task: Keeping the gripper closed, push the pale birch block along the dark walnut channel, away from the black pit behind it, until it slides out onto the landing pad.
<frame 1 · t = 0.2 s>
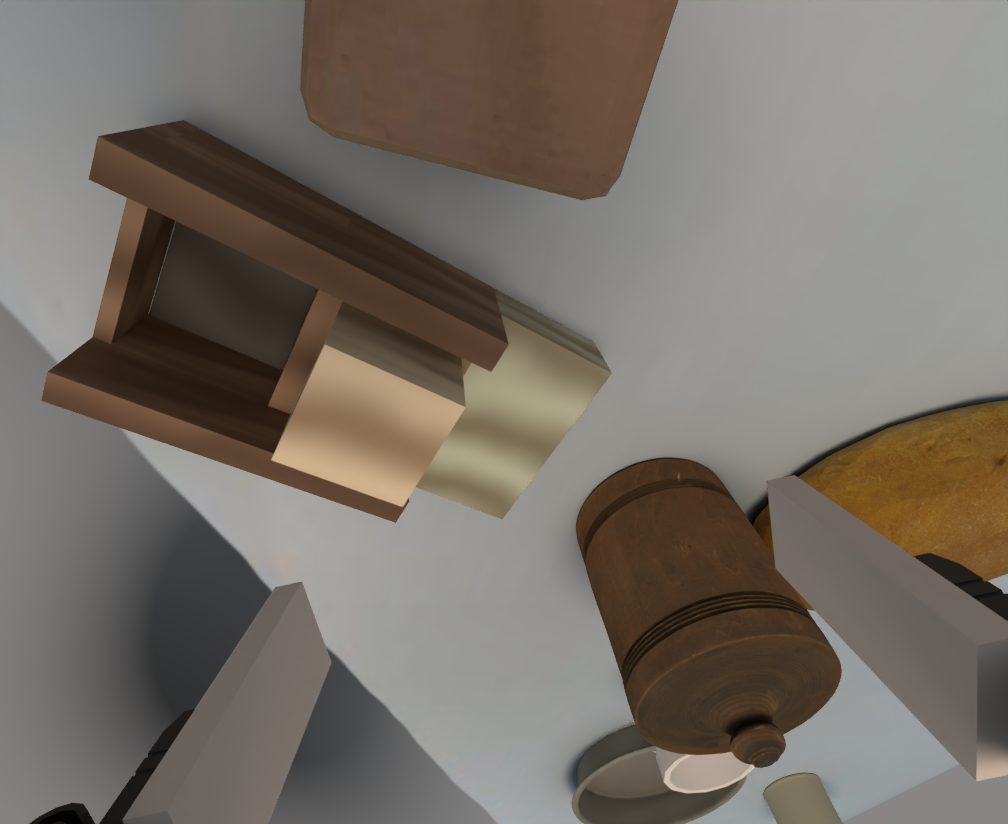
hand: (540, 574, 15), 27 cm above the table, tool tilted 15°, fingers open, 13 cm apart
cake pan: (649, 756, 79), on the table
wooden block: (467, 26, 31), on the table
can: (790, 785, 88), on the table
wooden container: (650, 516, 53), on the table
foam cup: (663, 649, 65), on the table
bread: (903, 481, 54), on the table
chute: (372, 337, 40), on the table
birch block: (378, 374, 36), point 5 cm above the table, touching chute
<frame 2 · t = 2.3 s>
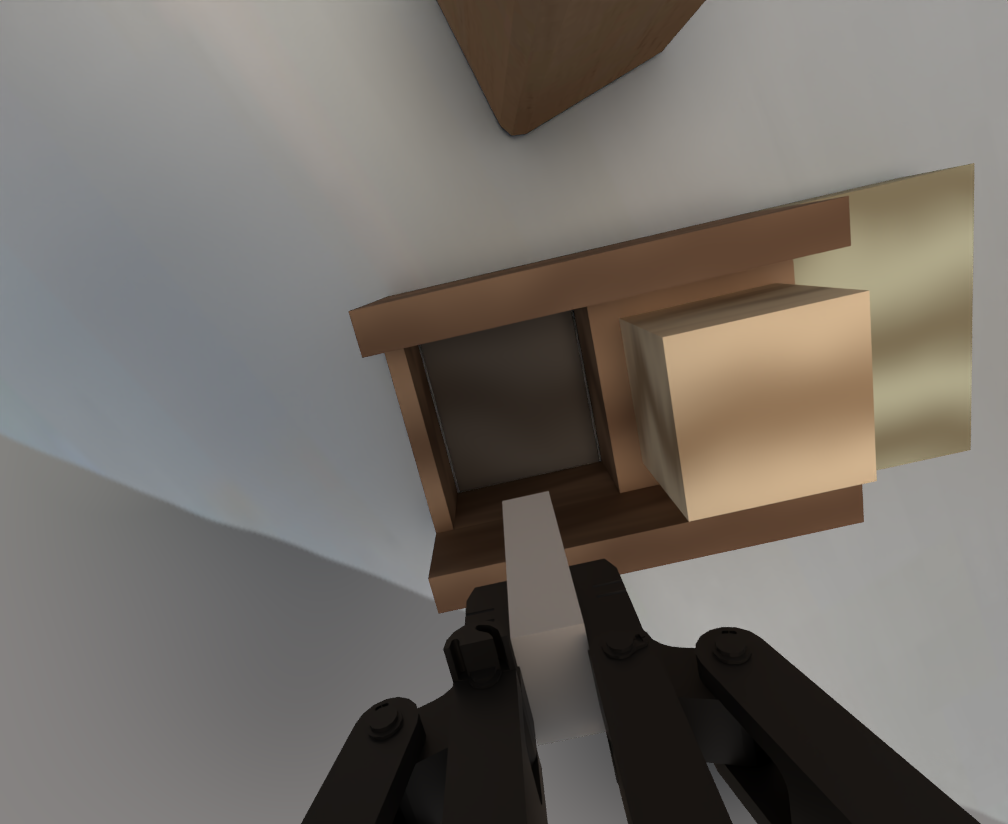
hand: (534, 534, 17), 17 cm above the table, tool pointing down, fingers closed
wooden block: (545, 5, 28), on the table
chute: (658, 363, 33), on the table
birch block: (706, 376, 29), point 5 cm above the table, touching chute
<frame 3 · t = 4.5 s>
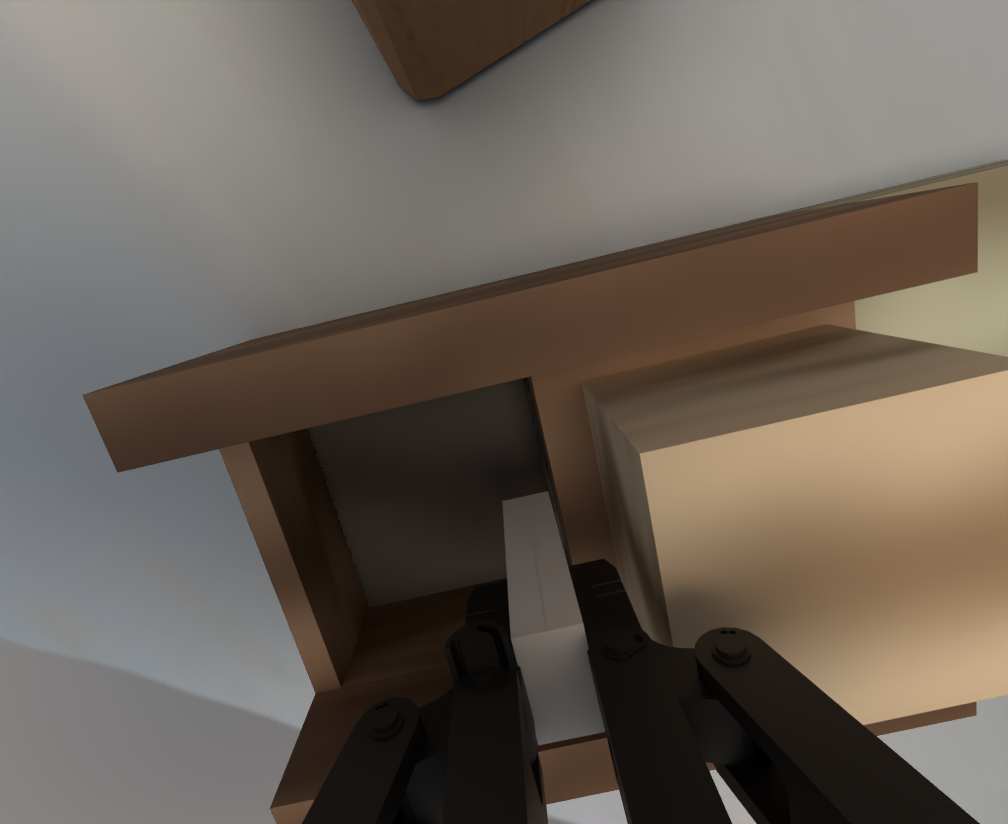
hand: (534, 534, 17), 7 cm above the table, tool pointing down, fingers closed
chute: (646, 429, 23), on the table
birch block: (718, 465, 19), point 5 cm above the table, touching chute, gripper
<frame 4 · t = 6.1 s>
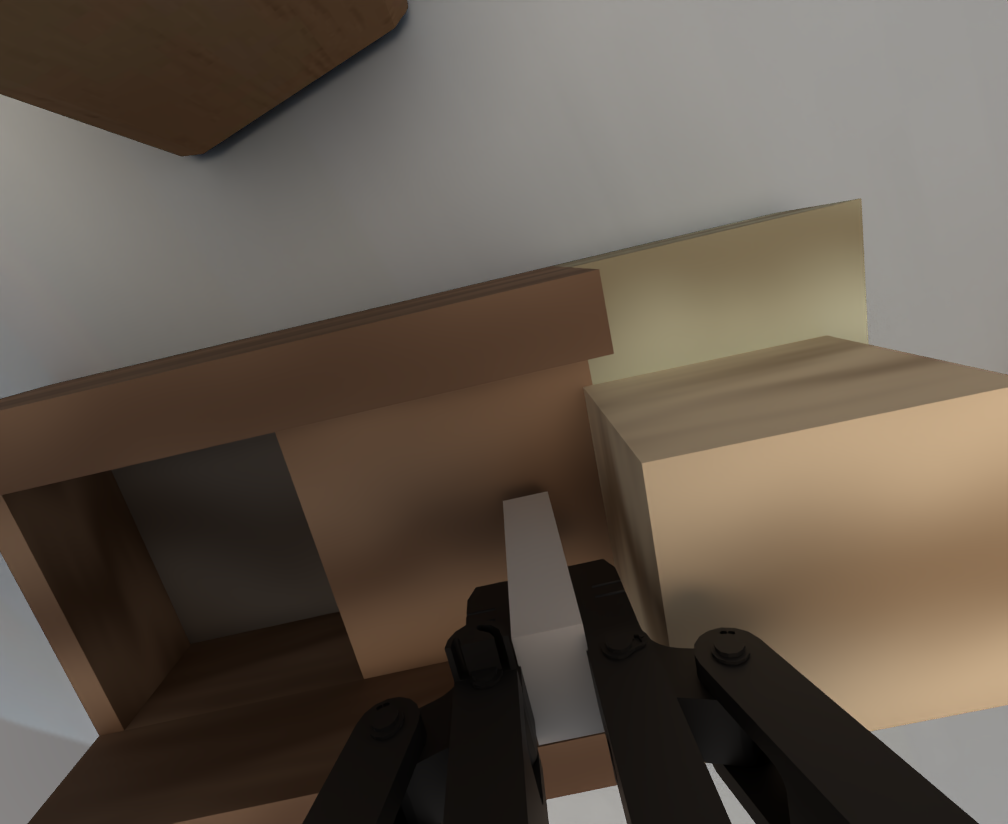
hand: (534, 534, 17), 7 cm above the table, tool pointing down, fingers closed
chute: (451, 471, 24), on the table
birch block: (716, 473, 19), point 5 cm above the table, touching chute, gripper
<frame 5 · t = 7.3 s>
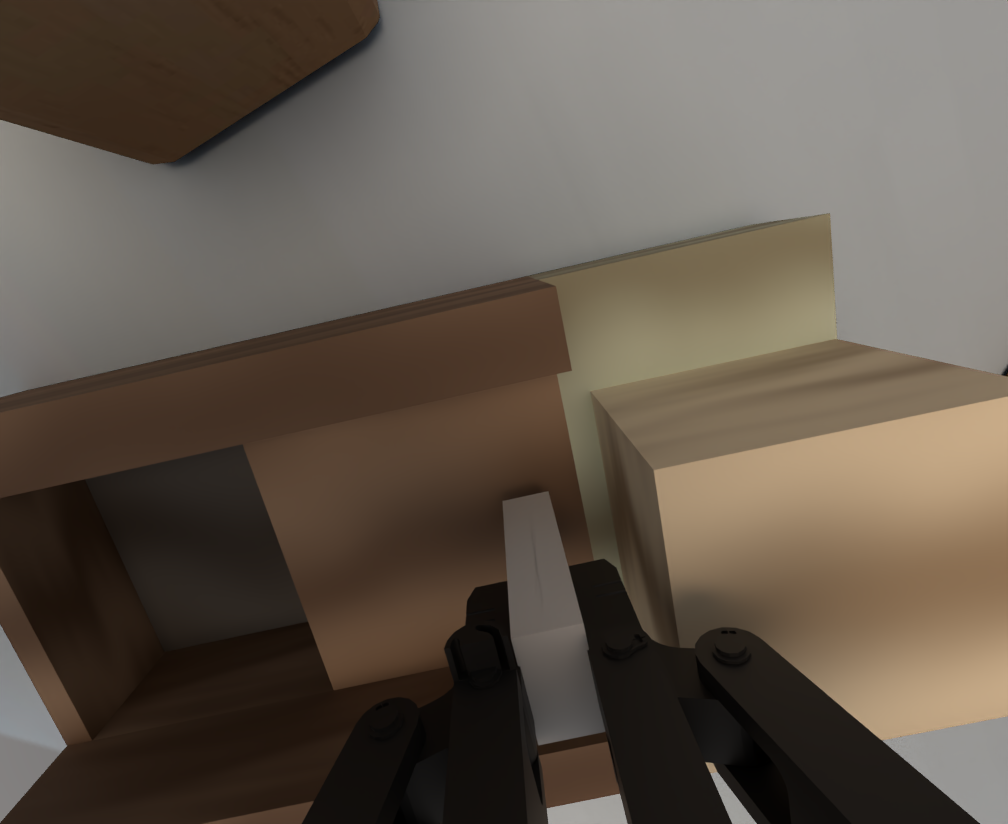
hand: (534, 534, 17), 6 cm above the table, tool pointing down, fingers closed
chute: (427, 480, 24), on the table
birch block: (724, 478, 19), point 5 cm above the table, touching chute
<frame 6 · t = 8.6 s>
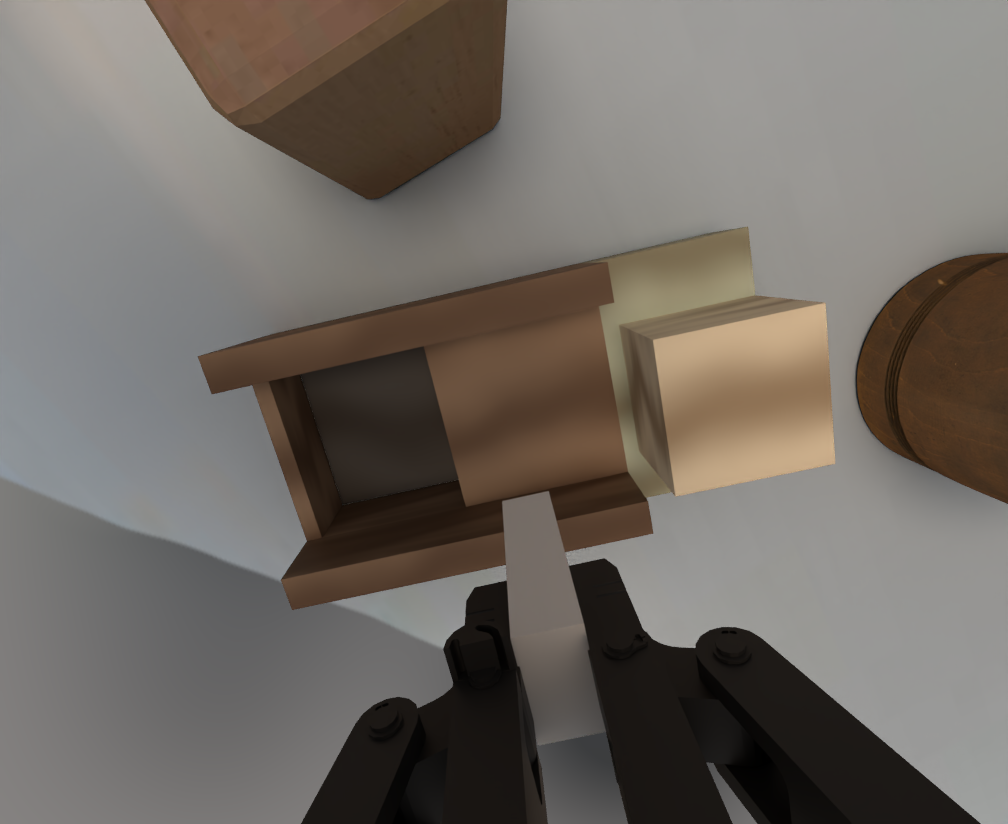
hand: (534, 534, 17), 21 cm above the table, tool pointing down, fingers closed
wooden block: (394, 89, 33), on the table
wooden container: (957, 363, 38), on the table
chute: (513, 391, 38), on the table
birch block: (694, 375, 33), point 5 cm above the table, touching chute
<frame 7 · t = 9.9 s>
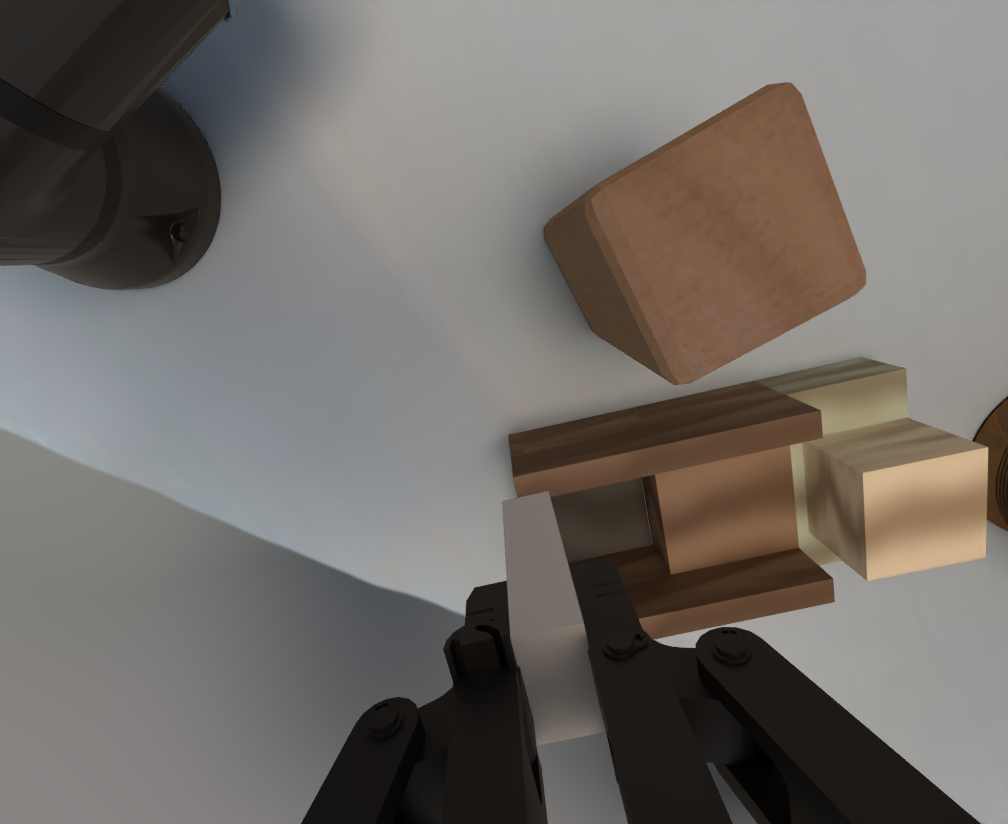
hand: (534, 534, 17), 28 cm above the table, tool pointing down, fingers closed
wooden block: (623, 253, 43), on the table
chute: (694, 478, 48), on the table
birch block: (856, 476, 43), point 5 cm above the table, touching chute
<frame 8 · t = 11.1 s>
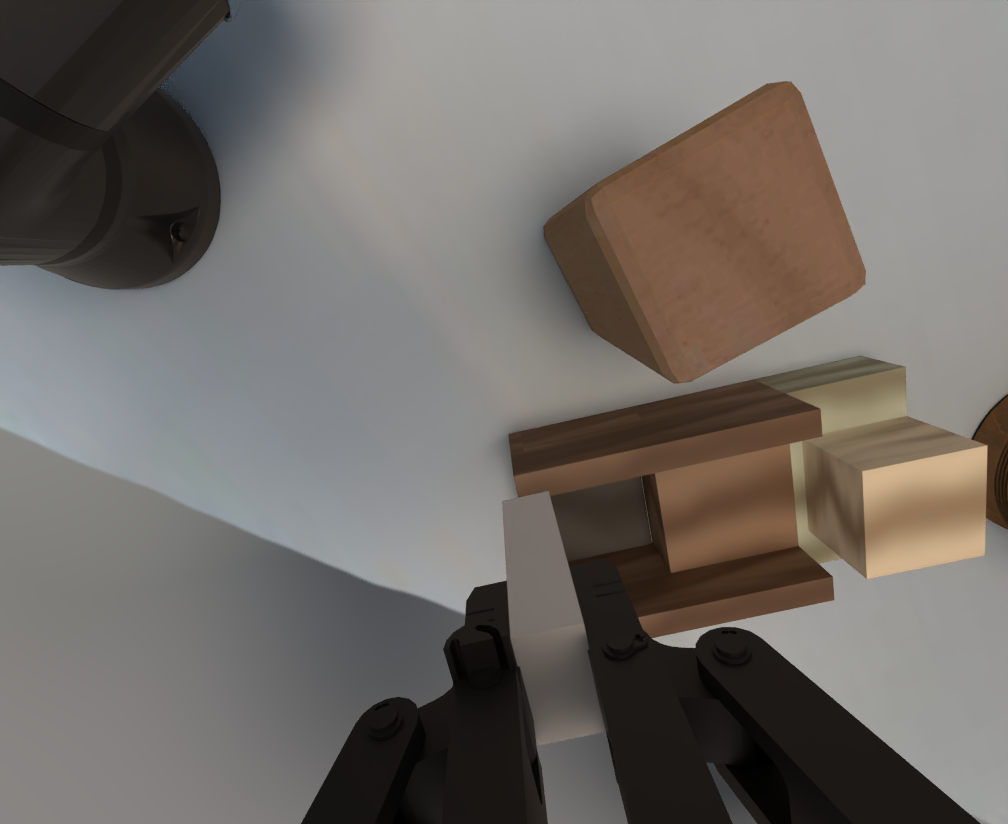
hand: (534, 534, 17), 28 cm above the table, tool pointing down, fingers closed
wooden block: (623, 252, 43), on the table
chute: (694, 476, 48), on the table
birch block: (856, 474, 43), point 5 cm above the table, touching chute
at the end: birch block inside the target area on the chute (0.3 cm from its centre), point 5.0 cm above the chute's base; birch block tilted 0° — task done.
